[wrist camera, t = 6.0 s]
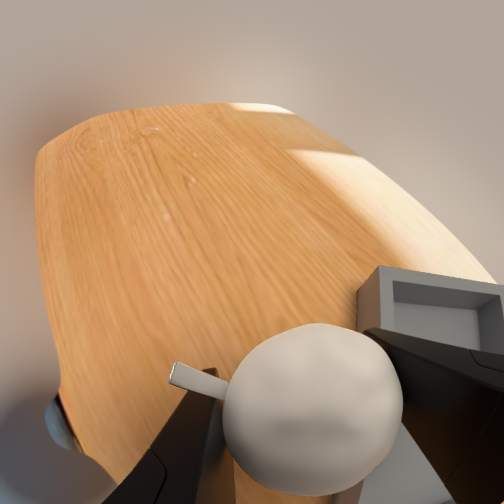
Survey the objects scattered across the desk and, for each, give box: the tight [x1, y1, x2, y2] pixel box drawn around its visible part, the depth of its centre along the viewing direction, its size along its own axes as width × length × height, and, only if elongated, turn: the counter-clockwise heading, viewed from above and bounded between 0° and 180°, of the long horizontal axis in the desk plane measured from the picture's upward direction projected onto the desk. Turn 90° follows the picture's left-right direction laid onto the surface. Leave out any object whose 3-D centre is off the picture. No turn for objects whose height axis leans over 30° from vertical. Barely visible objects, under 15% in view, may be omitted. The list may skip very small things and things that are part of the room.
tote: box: [332, 265, 504, 504], centre depth 14 cm, size 20×14×4 cm
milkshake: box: [168, 323, 403, 497], centre depth 8 cm, size 4×5×10 cm
